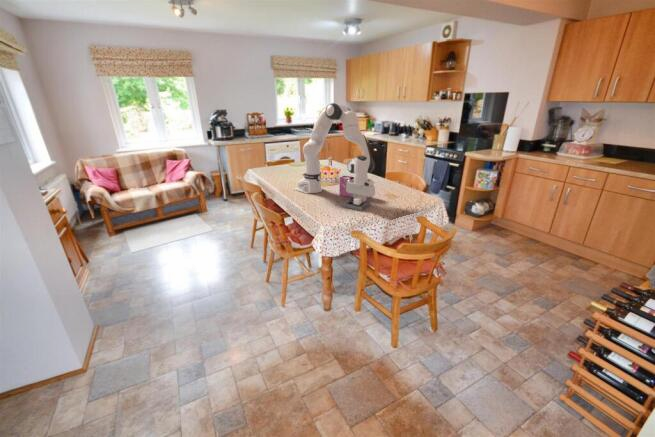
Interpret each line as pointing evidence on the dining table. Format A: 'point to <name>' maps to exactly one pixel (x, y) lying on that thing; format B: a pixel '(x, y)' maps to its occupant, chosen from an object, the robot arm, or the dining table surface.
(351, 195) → the gum box
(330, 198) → the dining table surface
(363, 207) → the keyhole plate
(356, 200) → the beige block
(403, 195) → the dining table surface
